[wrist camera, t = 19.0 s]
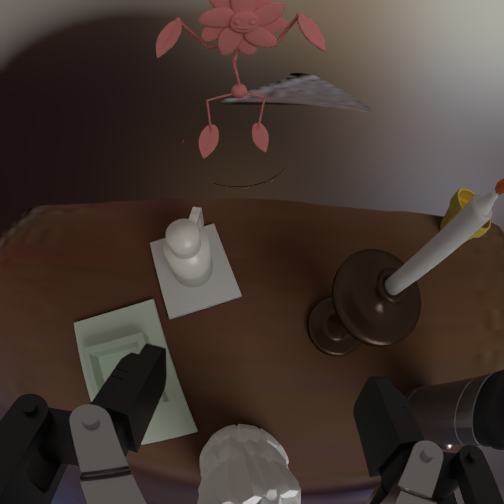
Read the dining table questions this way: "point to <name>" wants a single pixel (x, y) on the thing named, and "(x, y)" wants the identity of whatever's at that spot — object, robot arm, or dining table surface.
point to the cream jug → (189, 250)
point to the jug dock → (133, 340)
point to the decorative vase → (246, 469)
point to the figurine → (239, 46)
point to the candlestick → (387, 287)
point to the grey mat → (204, 296)
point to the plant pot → (456, 206)
